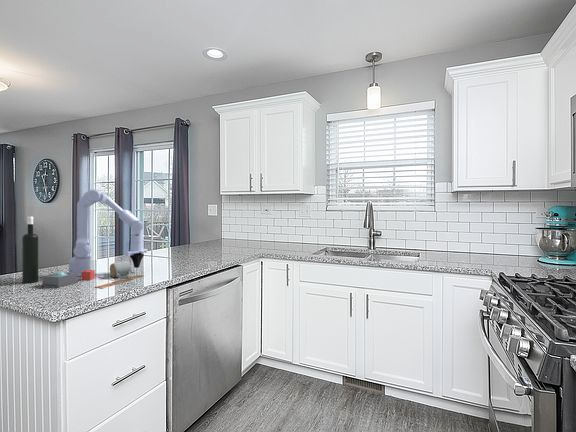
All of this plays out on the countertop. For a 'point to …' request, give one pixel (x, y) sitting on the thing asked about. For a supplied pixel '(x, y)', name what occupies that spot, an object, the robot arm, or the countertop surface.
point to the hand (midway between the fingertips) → (136, 267)
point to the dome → (59, 274)
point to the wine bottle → (30, 255)
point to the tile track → (119, 281)
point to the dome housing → (59, 280)
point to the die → (88, 274)
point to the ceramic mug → (120, 269)
